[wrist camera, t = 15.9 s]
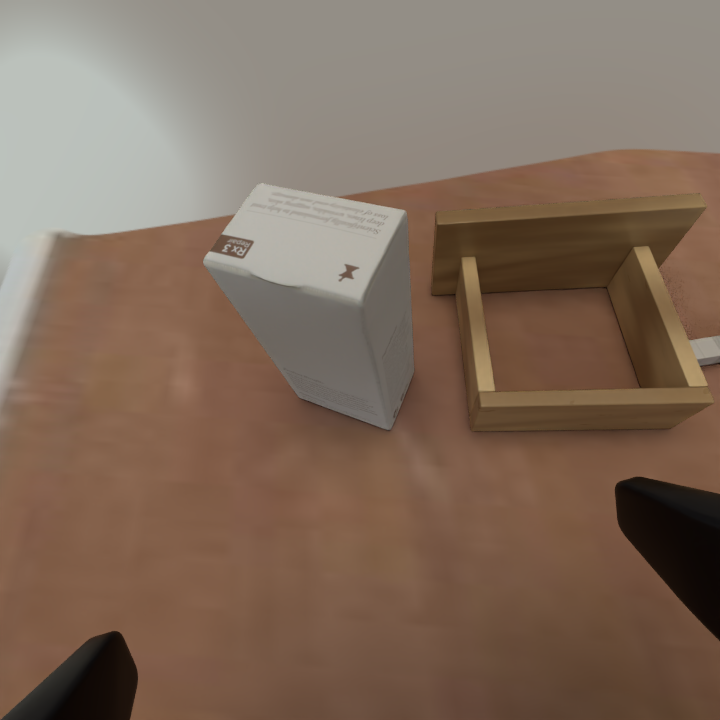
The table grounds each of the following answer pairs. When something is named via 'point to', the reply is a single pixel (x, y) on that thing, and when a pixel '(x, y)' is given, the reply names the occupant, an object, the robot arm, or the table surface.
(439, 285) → the wooden tray frame
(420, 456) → the table surface
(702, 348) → the ruler
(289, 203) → the cosmetic box
